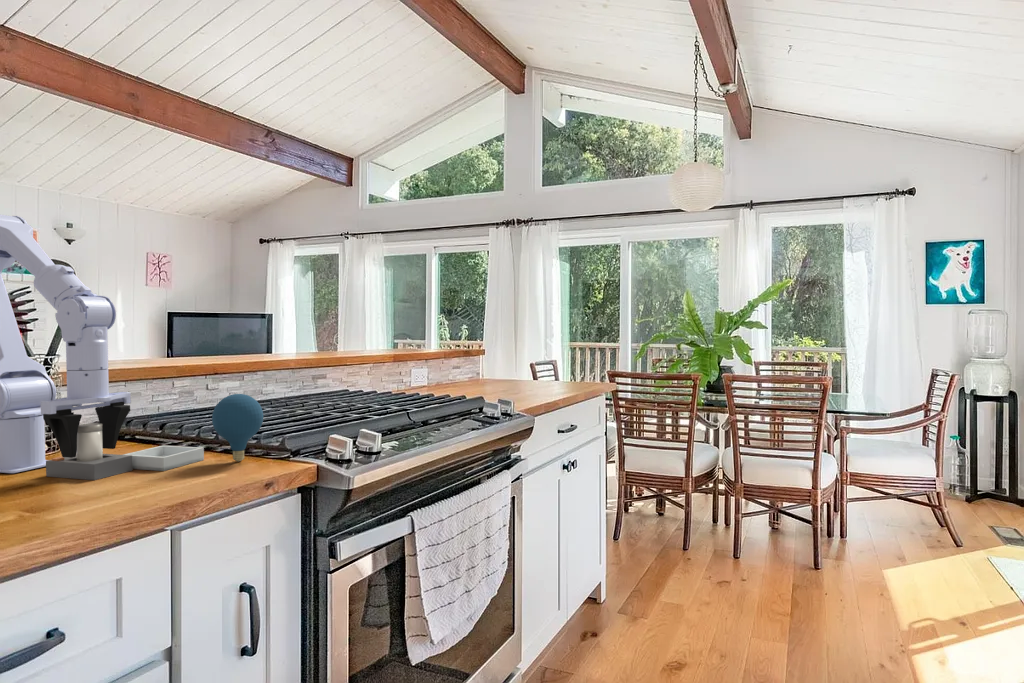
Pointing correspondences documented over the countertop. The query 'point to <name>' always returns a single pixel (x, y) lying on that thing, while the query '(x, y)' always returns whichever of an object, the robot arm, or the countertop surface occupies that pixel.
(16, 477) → the countertop surface
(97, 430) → the cylinder
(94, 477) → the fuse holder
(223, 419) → the light bulb
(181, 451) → the parts tray
